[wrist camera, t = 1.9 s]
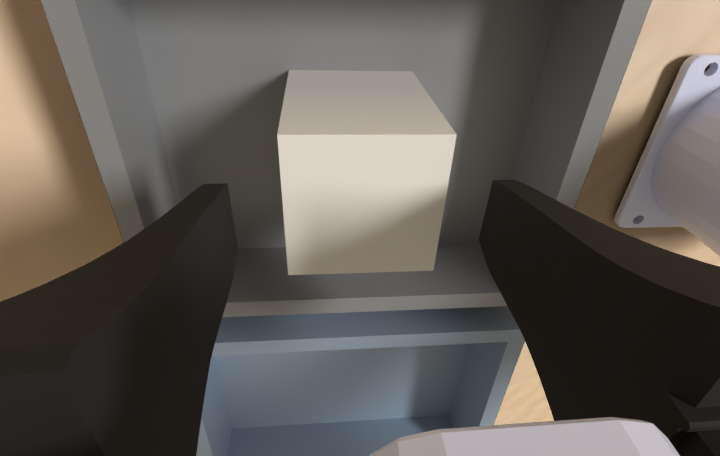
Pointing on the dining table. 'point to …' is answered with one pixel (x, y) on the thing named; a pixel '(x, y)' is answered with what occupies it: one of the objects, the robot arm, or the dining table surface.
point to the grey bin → (339, 53)
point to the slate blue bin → (353, 379)
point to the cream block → (362, 172)
